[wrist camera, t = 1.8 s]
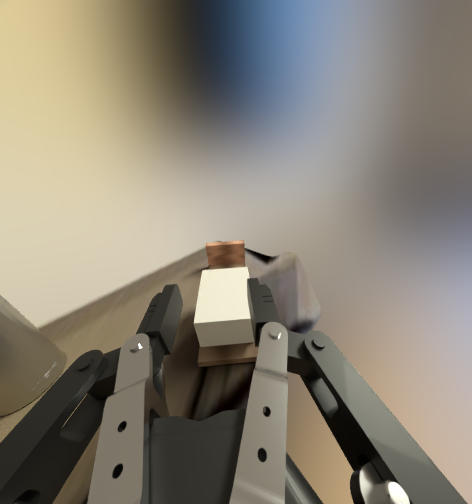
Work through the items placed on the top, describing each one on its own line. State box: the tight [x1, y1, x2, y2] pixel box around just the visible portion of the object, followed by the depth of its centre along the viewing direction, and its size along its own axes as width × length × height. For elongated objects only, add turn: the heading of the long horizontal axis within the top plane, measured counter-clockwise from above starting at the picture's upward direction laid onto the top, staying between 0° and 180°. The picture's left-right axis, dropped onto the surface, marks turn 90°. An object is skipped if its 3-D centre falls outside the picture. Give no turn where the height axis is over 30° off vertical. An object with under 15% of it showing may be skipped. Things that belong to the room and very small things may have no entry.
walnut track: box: [198, 241, 259, 367], centre depth 38 cm, size 10×28×8 cm, turn 4°
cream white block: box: [194, 267, 254, 347], centre depth 31 cm, size 9×12×8 cm
